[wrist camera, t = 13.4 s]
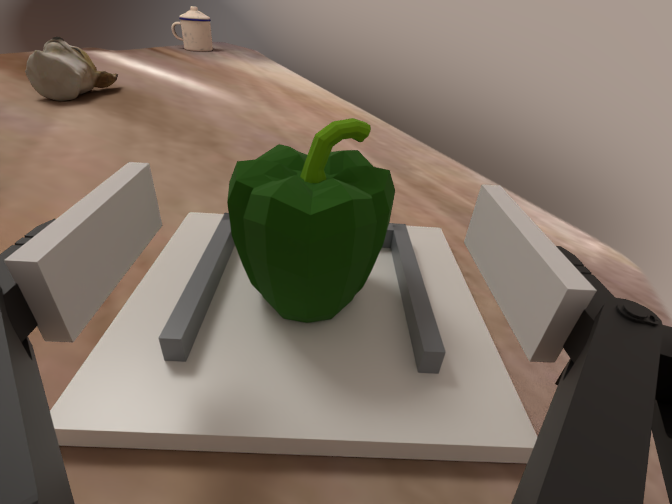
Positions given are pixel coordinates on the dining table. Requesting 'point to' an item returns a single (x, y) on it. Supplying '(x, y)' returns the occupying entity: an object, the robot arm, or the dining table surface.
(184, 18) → the teacup with lid
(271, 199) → the bell pepper
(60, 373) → the dining table surface
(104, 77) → the garlic bulb
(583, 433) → the robot arm
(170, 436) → the board
